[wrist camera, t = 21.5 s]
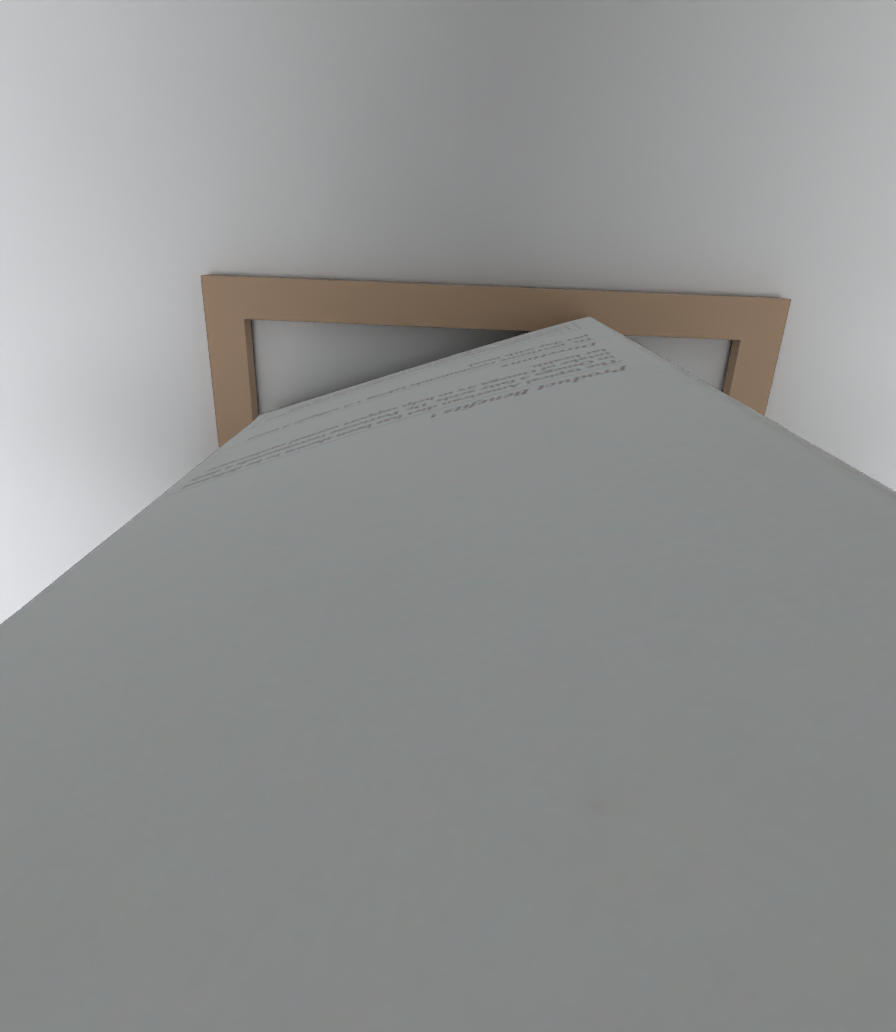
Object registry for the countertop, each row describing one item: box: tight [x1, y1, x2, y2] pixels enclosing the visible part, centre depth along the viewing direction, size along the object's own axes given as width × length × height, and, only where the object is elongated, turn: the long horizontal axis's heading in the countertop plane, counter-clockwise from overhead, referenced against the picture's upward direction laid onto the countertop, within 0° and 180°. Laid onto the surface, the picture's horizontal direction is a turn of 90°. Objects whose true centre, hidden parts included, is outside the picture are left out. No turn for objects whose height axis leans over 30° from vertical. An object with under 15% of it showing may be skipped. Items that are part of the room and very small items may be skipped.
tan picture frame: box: [201, 275, 791, 448], centre depth 15 cm, size 12×12×1 cm
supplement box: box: [0, 317, 896, 1032], centre depth 8 cm, size 7×7×13 cm
